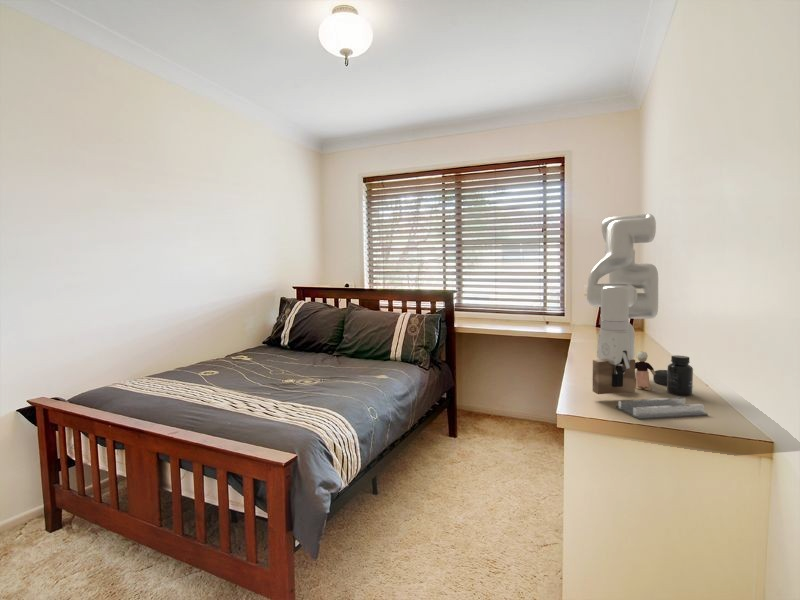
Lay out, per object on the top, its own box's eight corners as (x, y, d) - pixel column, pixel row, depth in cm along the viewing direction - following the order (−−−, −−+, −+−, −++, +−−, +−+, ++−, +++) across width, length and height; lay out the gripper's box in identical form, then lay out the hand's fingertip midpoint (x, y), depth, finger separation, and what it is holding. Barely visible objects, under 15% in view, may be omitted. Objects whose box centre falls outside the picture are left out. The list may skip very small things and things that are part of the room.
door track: (615, 407, 119) (615, 399, 119) (678, 404, 121) (678, 395, 121) (639, 419, 109) (639, 410, 109) (707, 415, 111) (707, 406, 111)
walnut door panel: (592, 391, 127) (592, 359, 127) (628, 388, 129) (628, 357, 128) (598, 394, 125) (598, 362, 124) (634, 391, 126) (635, 359, 125)
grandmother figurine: (652, 387, 139) (653, 350, 138) (656, 390, 135) (656, 352, 134) (627, 386, 141) (627, 349, 140) (629, 389, 137) (630, 351, 137)
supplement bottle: (696, 396, 128) (697, 358, 127) (672, 395, 129) (673, 358, 129) (686, 390, 135) (687, 354, 134) (663, 390, 136) (663, 354, 135)
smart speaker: (682, 388, 138) (683, 376, 138) (652, 384, 144) (652, 373, 143) (683, 382, 146) (684, 371, 145) (654, 379, 151) (654, 368, 151)
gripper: (587, 323, 133) (587, 378, 134) (620, 330, 116) (619, 393, 118) (609, 322, 134) (608, 377, 135) (644, 329, 117) (643, 392, 119)
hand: (613, 384), depth 126 cm, fingers closed on walnut door panel, 3 cm apart
